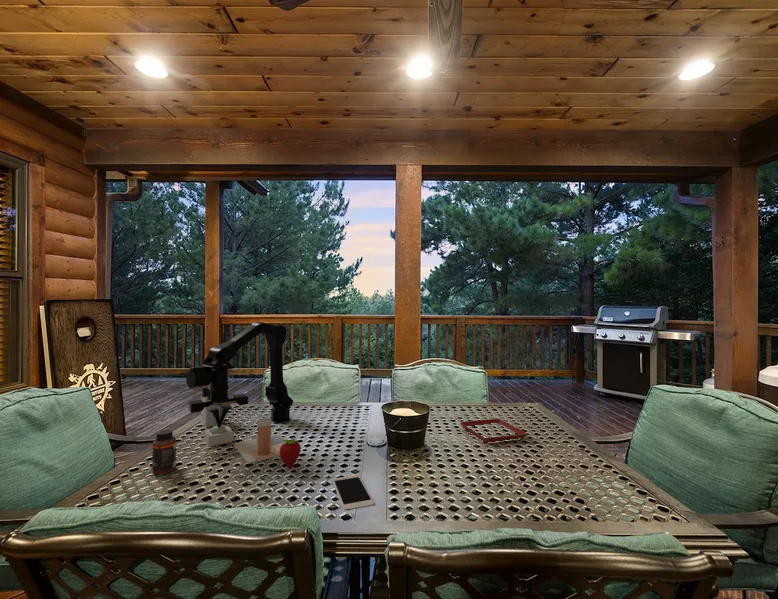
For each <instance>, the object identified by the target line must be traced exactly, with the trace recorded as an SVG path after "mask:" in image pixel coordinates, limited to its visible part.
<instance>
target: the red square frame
mask: <svg viewBox="0 0 778 599" xmlns="http://www.w3.org/2000/svg"><path fill="white" fill-rule="evenodd" d="M490 423H500V424H501V425H503V426H505V427H507V428H508V429H510V430H512V431H514V432H515V433H517V434H519V435H509V436H500V437H491V438H484V437H483V436H481V435H480V434H478V433H476V432H475V431H473V430H472V429H470V428H468V427H467V426H475V425H482V424H490ZM459 424H460V425H461V427H462V428H463V429H464V428H465V429H466V430H468V431H469V432H470V433H472V434H473V435H475V436H476V437H478V438H479V439H481V440H483V441H484V442H495V441H503V440H510V439H518V438H523V439H524V438H526V436H527V435H528V433H527V432H525V431H523V430H522V429H520V428H518V427H516V426H514V425H512V424H510V423H508V422H506V421H504V420H502V419H500V418H491V419H490V418H489V419H479V420H469V421H460V422H459ZM465 429H464V430H465ZM466 430H465V431H466ZM470 433H469V434H470ZM473 435H472V436H473ZM476 437H475V438H476ZM479 439H478V440H479Z"/></svg>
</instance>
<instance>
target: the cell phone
mask: <svg viewBox="0 0 778 599" xmlns="http://www.w3.org/2000/svg"><path fill="white" fill-rule="evenodd" d="M331 482H332V485H333V486H334V489H335V492H336V494H337V496H338V499H339V501H340V504H341V507H342V508H343V511H349V510H353V509H354V508H355V509H359V508H358V507H361V508H363V507H362V506H366V507H368V506H367V505H372V506H374V505H373V504H375V505H376V502H375V501H374V499H373V498H372V495H370V492H369V490H368V488H367V487H366V485H365V484H364V481H363V480H362V478H361V476H360V475H359V474H354V475H348V476H343V477H336V478H335V477H334V478H332V479H331ZM355 509H354V510H355Z"/></svg>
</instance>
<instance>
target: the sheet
mask: <svg viewBox="0 0 778 599" xmlns="http://www.w3.org/2000/svg"><path fill="white" fill-rule="evenodd" d="M283 440H286V438H284V437H283V436H281V435H280V434H279V433H277V434H271V453H270V454H268V455H264V456H261V455H258V437H257V438H253V439H249V440H244V441H239V442H236V443H234V442H233V443H232V446H233V445H234V446H233V447H234V448H235V449H237V450H238V451H239V452H238V451H237V450H236V451H237V452H238V453H239V454H240V456H241V457H242V456H243V457H244V458H243V457H242V458H243V459H244V460H245V462H246V463H247V462H248V463H247V464H248V465H250V464H255V463H258V462H257V461H259V462H263V461H266V459H267V460H271V459H275V458H279V457H280V453H279V452H280V447H281V446H282V445H283V444H284V443H286V441H283ZM262 460H263V461H262Z"/></svg>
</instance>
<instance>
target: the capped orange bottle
mask: <svg viewBox="0 0 778 599" xmlns="http://www.w3.org/2000/svg"><path fill="white" fill-rule="evenodd" d="M271 435H272V420H271V418H267V417H266V418H265V417H264V418H260V419H258V420H257V438H258V455H261V456H264V455H268V454H270V453H271Z"/></svg>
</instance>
